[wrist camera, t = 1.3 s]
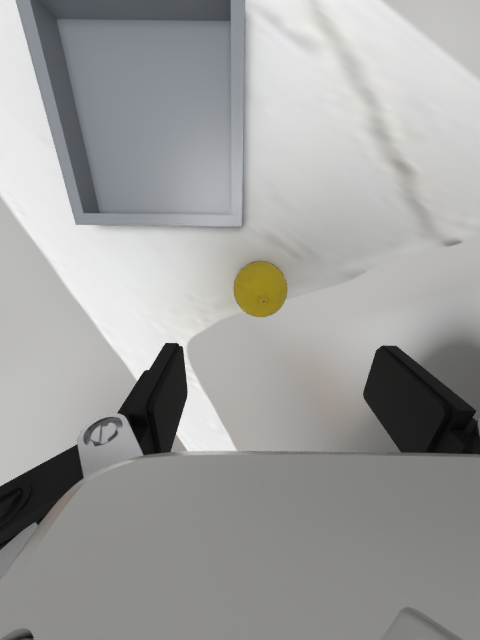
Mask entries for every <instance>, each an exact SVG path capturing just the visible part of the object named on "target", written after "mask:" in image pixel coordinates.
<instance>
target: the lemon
mask: <svg viewBox="0 0 480 640" xmlns="http://www.w3.org/2000/svg"><path fill="white" fill-rule="evenodd" d="M286 295H287V284H286V280H285V278H284V275H283V274H282V272H281V271H280V270H279V269H278V268H277V267H276V266H274V265H273V264H270V263H268V262H262V261H258V262H253V263H250V264H248V265H246V266H245V267H244V268H242V269H241V271H240V272H239V273H238V274H237V277H236V279H235V282H234V296H235V299H236V301H237V303H238V305H239V306H240V307H241V309H242V310H244V311H245V312H246V313H247V314H250V315H252V316H256V317H266V316H269V315H272V314H274V313H275V312H276V311H278V310H279V309H280V308H281V306H282V305H283V304H284V301H285V299H286Z"/></svg>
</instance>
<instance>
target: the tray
mask: <svg viewBox="0 0 480 640" xmlns="http://www.w3.org/2000/svg"><path fill="white" fill-rule="evenodd" d="M16 3H17V7H18V11H19V14H20V18H21V22H22V25H23V29H24V33H25V37H26V40H27V44H28V48H29V52H30V55H31V59H32V63H33V66H34V70H35V74H36V78H37V81H38V85H39V89H40V93H41V96H42V100H43V104H44V107H45V111H46V115H47V119H48V122H49V126H50V130H51V134H52V137H53V141H54V145H55V148H56V152H57V156H58V160H59V163H60V167H61V171H62V174H63V178H64V182H65V186H66V189H67V193H68V197H69V201H70V204H71V208H72V212H73V215H74V219H75V223H76V225H149V226H226V227H242V186H243V115H244V45H245V0H16Z"/></svg>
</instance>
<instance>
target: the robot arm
mask: <svg viewBox="0 0 480 640" xmlns="http://www.w3.org/2000/svg"><path fill="white" fill-rule="evenodd" d="M363 395H364V399H365V400H366V402H367V404H368V405H369V406H370V408H371V409H372V411H373V412H374V414H375V415H376V416H377V418H378V420H379V421H380V422H381V424H382V425H383V427H384V428H385V429H386V431H387V433H388V434H389V435H390V437H391V438H392V440H393V441H394V443H395V444H396V446H397V447H398V448H399V450H400V451H401V453H398V452H397V453H396V452H316V451H315V452H314V451H312V452H311V451H304V452H303V451H187V452H171V448H172V445H173V441H174V438H175V435H176V432H177V428H178V425H179V422H180V418H181V415H182V412H183V408H184V405H185V402H186V399H187V382H186V372H185V363H184V354H183V347H182V346H179V344H178V343H165V345H164V346H163V348H162V350H161V351H160V353H159V355H158V356H157V358H156V360H155V361H154V363H153V364H152V366H151V368H150V369H149V370H146V371H144V372H143V374H142V375H141V377H140V378H139V380H138V381H137V383H136V385H135V386H134V388H133V389H132V391H131V393H130V394H129V396H128V397H127V399H126V400H125V402H124V403H123V405H122V407H121V408H120V410H119V411H118V413H111V414H106V415H103V416H100V417H98V418H96V419H94V420H92V421H91V422H90V423H89V424H87V425H86V426H85V427H84V428H83V430H82V431H81V432H80V434H79V436H78V439H77V445H75V446H73V447H72V448H70V449H68V450H66V451H64V452H62V453H61V454H59V455H57V456H55V457H53V458H51V459H50V460H48V461H46V462H44V463H42V464H40V465H39V466H37V467H35V468H33V469H31V470H29V471H28V472H26V473H24V474H22V475H20V476H18V477H17V478H15V479H13V480H11V481H9V482H7V483H5V484H4V485H2V486H0V640H33V638H34V640H480V419H478V421H476V420H475V419H474V418H472V417H473V416H474V414H475V412H476V410H475V409H474V408H472V407H471V406H470V405H469V404H467V403H466V402H465V401H464V400H463V399H461V398H460V397H459V396H457V395H456V394H455V393H454V392H453V391H451V390H450V389H449V388H448V387H446V386H445V385H444V384H443V383H441V382H440V381H439V380H438V379H437V378H435V377H434V376H433V375H431V374H430V373H429V372H428V371H426V370H425V369H424V368H423V367H422V366H420V365H419V364H418V363H417V362H416V361H414V360H413V359H412V358H411V357H409V356H408V355H407V354H406V353H404V352H403V351H402V350H401V349H399V348H398V347H397V346H381V347H380V348H379V349H377V350H376V353H375V356H374V359H373V363H372V366H371V369H370V372H369V376H368V379H367V382H366V386H365V389H364V393H363Z"/></svg>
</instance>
